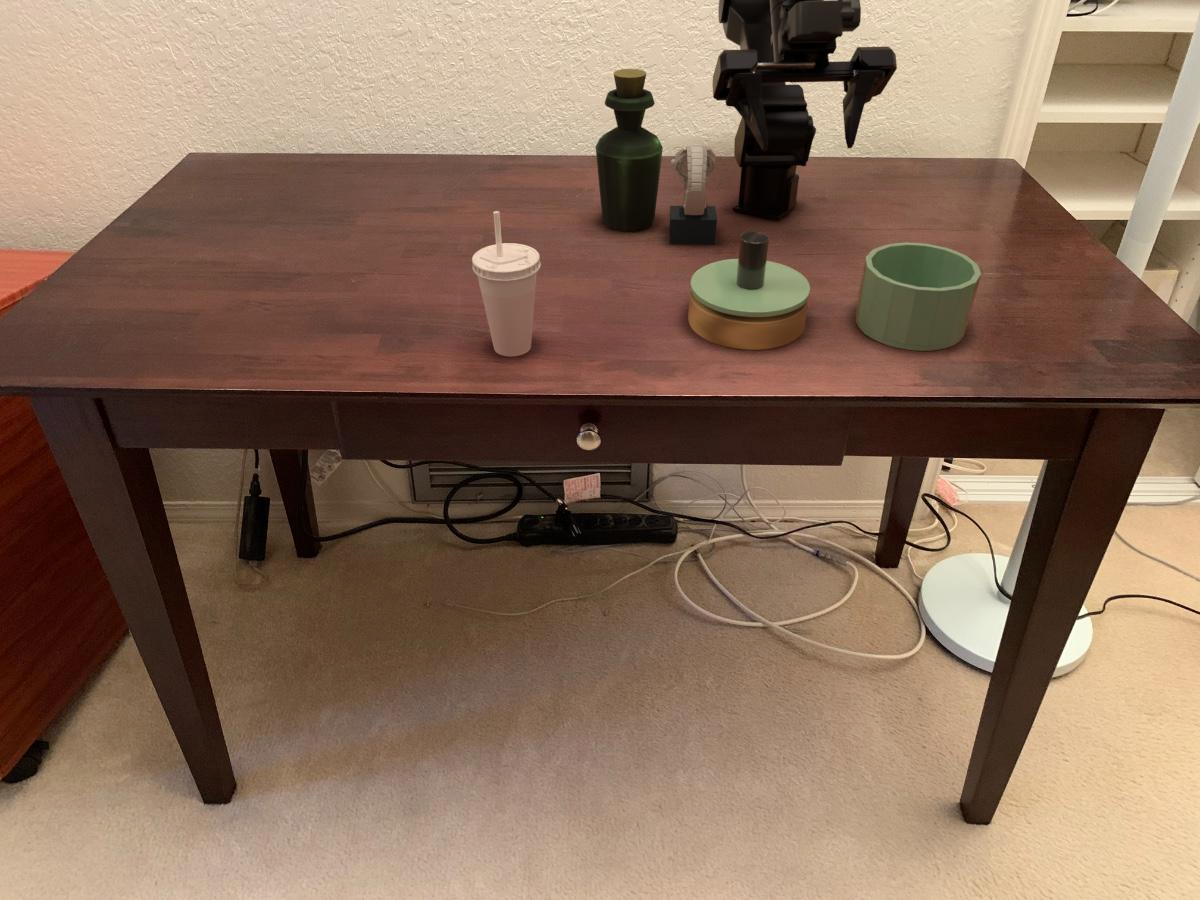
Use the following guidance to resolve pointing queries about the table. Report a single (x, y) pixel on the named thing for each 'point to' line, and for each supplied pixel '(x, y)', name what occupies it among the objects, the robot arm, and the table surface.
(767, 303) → the lid
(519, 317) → the smoothie
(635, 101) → the potion bottle
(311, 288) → the table surface
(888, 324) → the green round open container
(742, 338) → the disc
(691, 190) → the watch
